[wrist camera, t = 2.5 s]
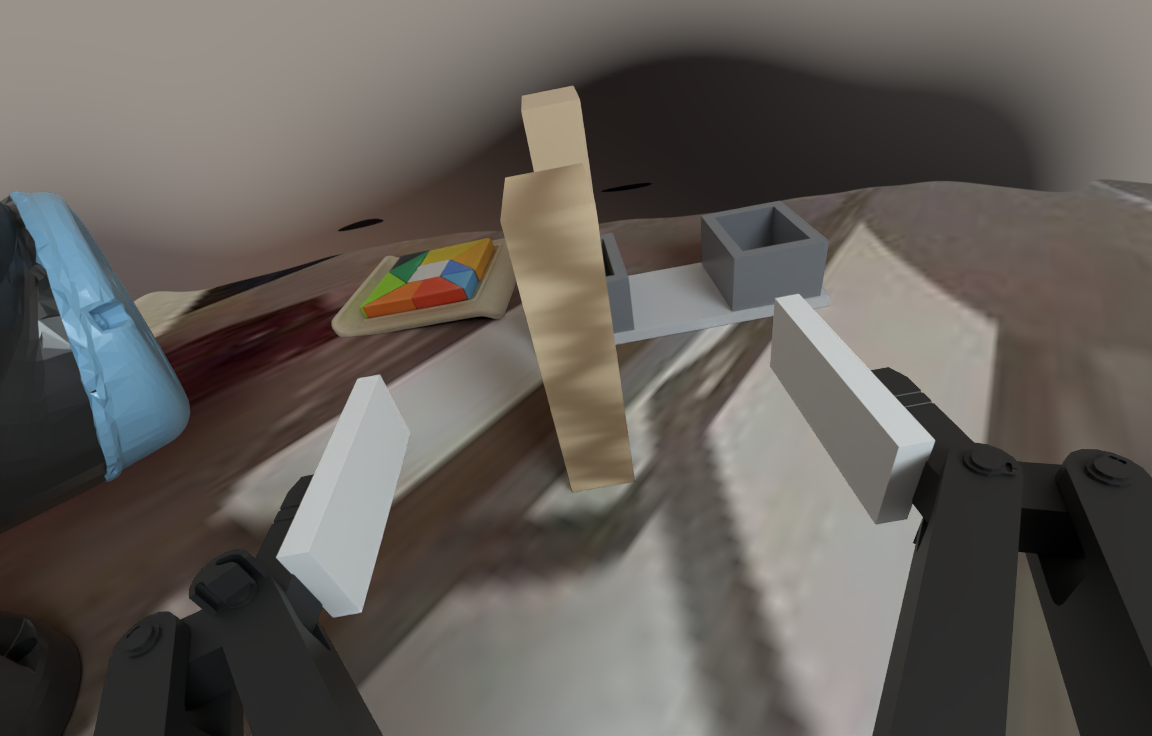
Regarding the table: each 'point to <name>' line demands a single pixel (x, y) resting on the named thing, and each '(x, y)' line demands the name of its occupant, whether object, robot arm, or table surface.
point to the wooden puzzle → (431, 289)
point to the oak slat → (569, 319)
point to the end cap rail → (728, 247)
